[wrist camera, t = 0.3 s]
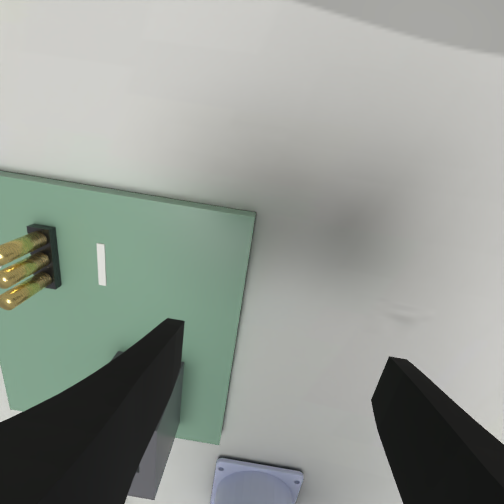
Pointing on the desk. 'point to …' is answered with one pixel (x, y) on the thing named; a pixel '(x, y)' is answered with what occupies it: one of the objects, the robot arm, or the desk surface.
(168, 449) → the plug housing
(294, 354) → the desk surface
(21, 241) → the pin header
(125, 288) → the circuit board
